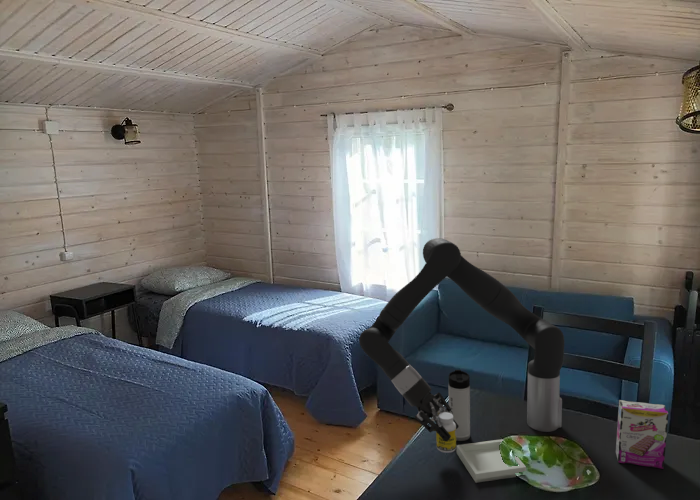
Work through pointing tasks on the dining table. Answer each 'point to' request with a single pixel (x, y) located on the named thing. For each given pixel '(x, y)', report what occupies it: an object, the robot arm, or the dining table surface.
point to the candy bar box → (641, 434)
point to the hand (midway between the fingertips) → (452, 433)
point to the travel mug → (460, 402)
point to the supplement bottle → (450, 427)
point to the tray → (487, 461)
